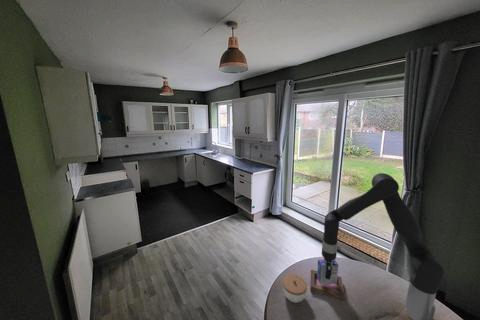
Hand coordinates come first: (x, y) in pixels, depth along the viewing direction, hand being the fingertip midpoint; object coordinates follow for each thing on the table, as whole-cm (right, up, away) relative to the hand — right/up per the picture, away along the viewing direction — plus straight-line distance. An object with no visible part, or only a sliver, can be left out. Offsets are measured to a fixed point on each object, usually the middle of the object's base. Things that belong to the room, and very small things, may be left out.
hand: (327, 273), depth 109 cm
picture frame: (0, -9, +2) cm, 9 cm away
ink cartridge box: (0, -4, +1) cm, 4 cm away
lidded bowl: (-20, -11, -4) cm, 23 cm away
